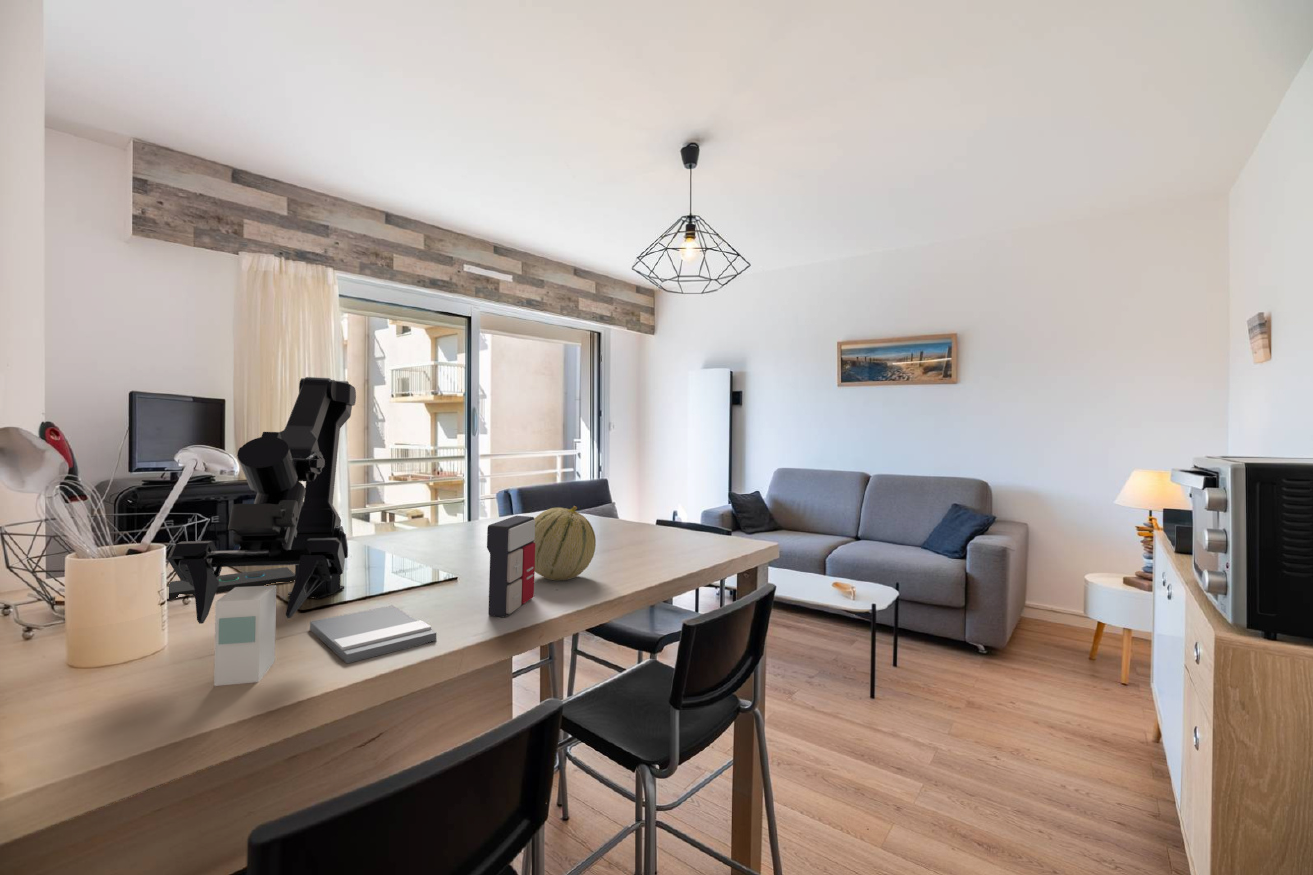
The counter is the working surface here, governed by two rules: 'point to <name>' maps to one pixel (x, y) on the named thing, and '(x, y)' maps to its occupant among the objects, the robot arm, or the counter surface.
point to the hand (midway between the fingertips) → (244, 619)
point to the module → (244, 634)
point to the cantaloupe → (562, 543)
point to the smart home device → (237, 581)
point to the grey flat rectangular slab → (371, 633)
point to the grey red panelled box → (511, 564)
